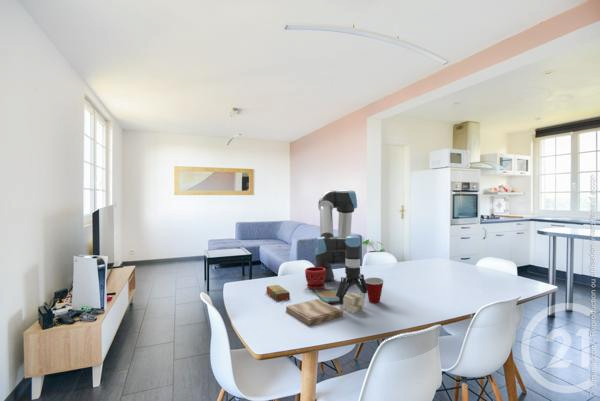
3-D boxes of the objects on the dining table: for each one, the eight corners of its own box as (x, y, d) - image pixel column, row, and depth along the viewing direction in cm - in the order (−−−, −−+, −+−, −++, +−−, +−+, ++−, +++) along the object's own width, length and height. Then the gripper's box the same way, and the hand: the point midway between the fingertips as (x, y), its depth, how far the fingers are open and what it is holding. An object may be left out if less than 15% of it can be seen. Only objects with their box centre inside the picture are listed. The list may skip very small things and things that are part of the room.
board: (318, 303, 158) (318, 298, 158) (343, 316, 141) (343, 310, 141) (286, 311, 147) (286, 305, 147) (309, 325, 130) (309, 319, 130)
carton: (279, 291, 179) (279, 284, 179) (290, 299, 165) (290, 292, 165) (266, 293, 176) (266, 286, 176) (276, 301, 161) (276, 293, 161)
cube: (352, 305, 155) (352, 292, 155) (362, 310, 149) (362, 296, 149) (342, 308, 151) (342, 295, 151) (352, 313, 145) (352, 299, 145)
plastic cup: (359, 299, 164) (359, 278, 164) (375, 297, 169) (375, 276, 169) (372, 306, 154) (372, 283, 154) (388, 303, 159) (388, 281, 159)
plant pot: (325, 284, 193) (325, 266, 192) (325, 291, 179) (325, 271, 179) (305, 284, 194) (306, 266, 194) (304, 290, 181) (304, 270, 181)
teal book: (326, 306, 155) (326, 301, 155) (312, 292, 178) (312, 288, 178) (355, 303, 160) (356, 298, 160) (338, 290, 182) (338, 286, 182)
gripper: (364, 262, 160) (364, 300, 160) (329, 268, 146) (328, 310, 146) (375, 264, 154) (374, 305, 154) (339, 271, 140) (338, 315, 140)
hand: (352, 307), depth 150 cm, fingers open, 13 cm apart
